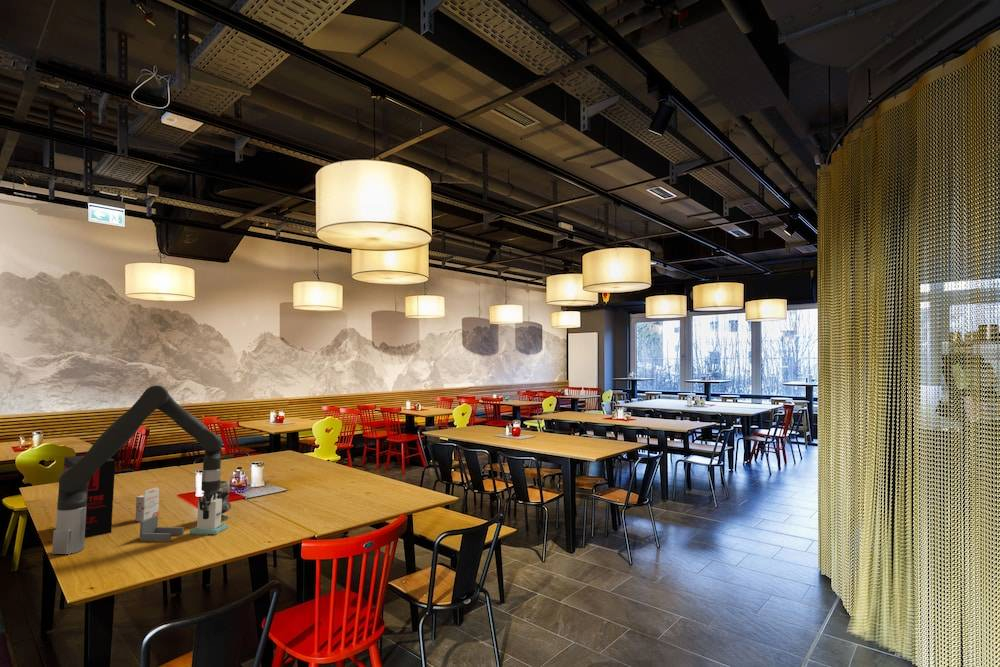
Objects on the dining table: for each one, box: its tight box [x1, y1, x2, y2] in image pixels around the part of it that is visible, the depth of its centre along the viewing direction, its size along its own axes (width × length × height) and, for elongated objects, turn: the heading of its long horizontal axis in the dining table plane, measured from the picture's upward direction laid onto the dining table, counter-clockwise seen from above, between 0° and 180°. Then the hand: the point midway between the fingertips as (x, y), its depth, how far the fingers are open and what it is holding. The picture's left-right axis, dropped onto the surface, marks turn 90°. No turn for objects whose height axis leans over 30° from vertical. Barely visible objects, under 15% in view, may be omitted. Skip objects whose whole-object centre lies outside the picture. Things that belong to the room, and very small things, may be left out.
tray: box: [189, 523, 229, 536], centre depth 233 cm, size 9×12×2 cm
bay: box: [139, 514, 185, 542], centre depth 224 cm, size 10×13×8 cm
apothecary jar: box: [217, 480, 232, 522], centre depth 251 cm, size 12×12×18 cm
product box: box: [63, 454, 116, 538], centre depth 235 cm, size 26×14×32 cm, turn 48°
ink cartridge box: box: [135, 486, 160, 522], centre depth 251 cm, size 9×5×15 cm, turn 168°
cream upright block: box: [196, 499, 223, 529], centre depth 233 cm, size 5×9×12 cm, turn 89°
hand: (209, 516), depth 233 cm, fingers closed on cream upright block, 5 cm apart
